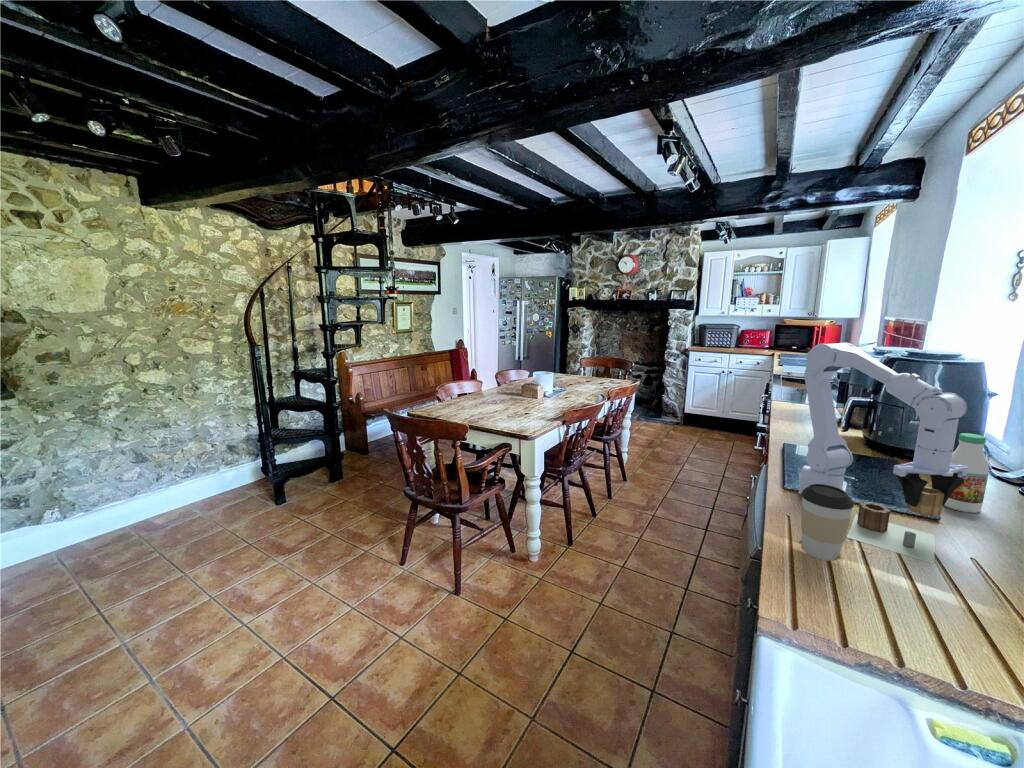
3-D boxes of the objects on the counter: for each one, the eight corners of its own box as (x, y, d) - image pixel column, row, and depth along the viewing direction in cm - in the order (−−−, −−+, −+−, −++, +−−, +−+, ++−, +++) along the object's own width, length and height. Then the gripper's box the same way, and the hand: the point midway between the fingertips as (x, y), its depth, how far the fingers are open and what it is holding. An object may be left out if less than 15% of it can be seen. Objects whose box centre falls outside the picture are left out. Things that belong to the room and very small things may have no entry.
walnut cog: (855, 526, 97) (858, 507, 96) (858, 518, 100) (861, 499, 99) (886, 535, 93) (889, 515, 92) (888, 526, 96) (891, 507, 96)
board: (846, 542, 93) (848, 525, 92) (855, 518, 103) (857, 503, 102) (933, 569, 83) (936, 550, 82) (933, 539, 93) (936, 523, 92)
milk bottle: (929, 500, 111) (942, 431, 107) (955, 499, 111) (968, 430, 108) (963, 514, 103) (977, 440, 100) (989, 512, 104) (1005, 439, 100)
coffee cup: (838, 545, 91) (847, 483, 89) (852, 568, 83) (862, 501, 81) (791, 536, 95) (798, 477, 93) (800, 557, 87) (807, 493, 84)
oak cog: (905, 510, 91) (909, 490, 91) (907, 502, 95) (910, 483, 94) (940, 519, 88) (944, 498, 87) (940, 510, 91) (944, 490, 90)
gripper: (918, 454, 85) (908, 513, 87) (988, 453, 85) (976, 512, 87) (888, 443, 92) (879, 498, 94) (952, 442, 92) (942, 497, 94)
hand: (924, 504), depth 91 cm, fingers closed on oak cog, 5 cm apart
